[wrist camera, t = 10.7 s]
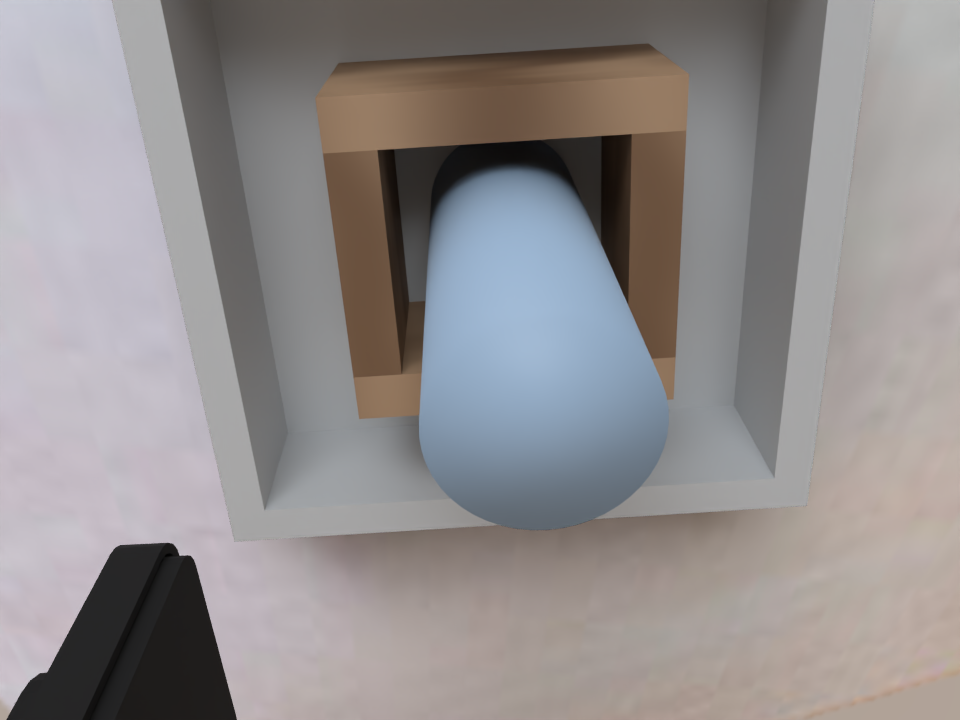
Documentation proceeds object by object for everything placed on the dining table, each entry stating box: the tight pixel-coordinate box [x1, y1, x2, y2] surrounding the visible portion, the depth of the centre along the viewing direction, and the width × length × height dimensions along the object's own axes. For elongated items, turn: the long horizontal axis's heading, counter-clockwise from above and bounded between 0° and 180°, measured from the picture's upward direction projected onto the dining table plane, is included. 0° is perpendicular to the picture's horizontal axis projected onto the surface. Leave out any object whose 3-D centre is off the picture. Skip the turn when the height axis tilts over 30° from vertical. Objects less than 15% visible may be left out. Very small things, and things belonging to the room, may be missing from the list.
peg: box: [419, 140, 669, 530], centre depth 20 cm, size 4×4×12 cm
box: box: [112, 0, 875, 542], centre depth 24 cm, size 16×16×5 cm
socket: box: [315, 43, 689, 419], centre depth 23 cm, size 8×8×4 cm
